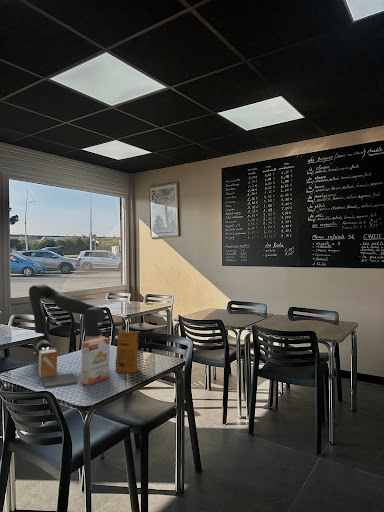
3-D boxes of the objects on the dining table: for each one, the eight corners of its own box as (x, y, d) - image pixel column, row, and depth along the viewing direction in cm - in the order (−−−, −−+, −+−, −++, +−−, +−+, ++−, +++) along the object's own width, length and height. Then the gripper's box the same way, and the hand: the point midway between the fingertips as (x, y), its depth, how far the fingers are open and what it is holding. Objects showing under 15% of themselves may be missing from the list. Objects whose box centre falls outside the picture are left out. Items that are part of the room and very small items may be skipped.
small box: (40, 378, 187) (41, 353, 187) (38, 375, 192) (38, 350, 192) (57, 376, 192) (57, 351, 192) (54, 372, 197) (54, 348, 197)
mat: (72, 375, 193) (72, 373, 193) (77, 383, 181) (77, 381, 181) (42, 379, 187) (42, 377, 187) (44, 388, 174) (45, 386, 174)
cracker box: (89, 386, 177) (89, 343, 177) (80, 383, 180) (81, 341, 180) (109, 378, 189) (110, 337, 189) (101, 376, 192) (102, 336, 192)
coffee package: (118, 367, 207) (119, 329, 207) (140, 368, 206) (140, 329, 206) (112, 373, 197) (113, 332, 197) (135, 374, 196) (135, 333, 196)
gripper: (31, 342, 209) (33, 349, 194) (56, 340, 215) (59, 347, 200) (31, 355, 209) (33, 363, 194) (55, 353, 215) (59, 360, 200)
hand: (46, 355), depth 197 cm, fingers closed
